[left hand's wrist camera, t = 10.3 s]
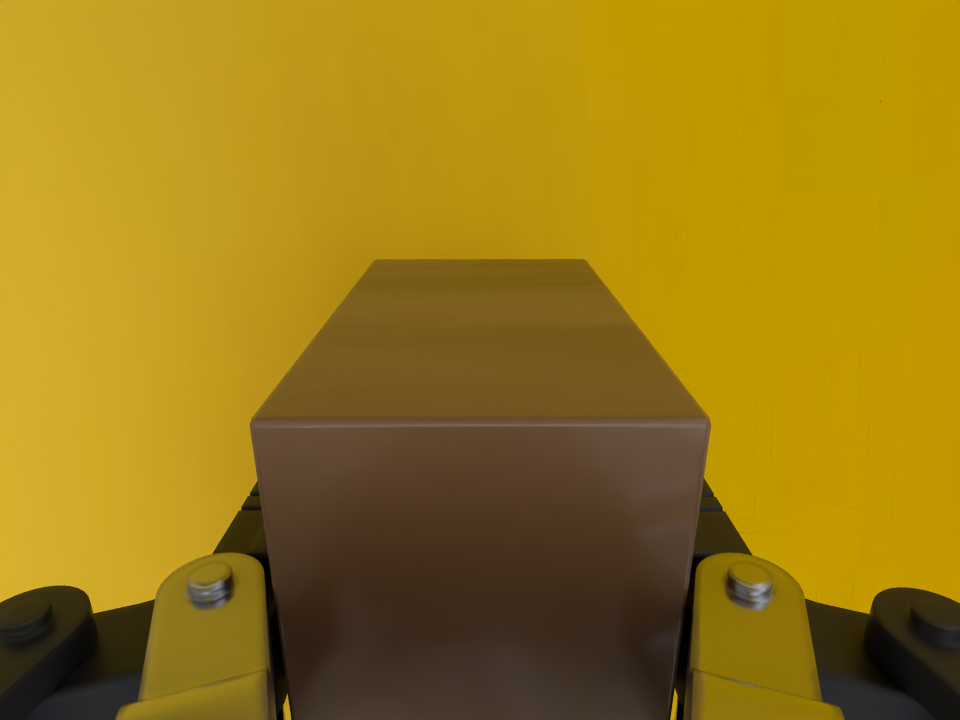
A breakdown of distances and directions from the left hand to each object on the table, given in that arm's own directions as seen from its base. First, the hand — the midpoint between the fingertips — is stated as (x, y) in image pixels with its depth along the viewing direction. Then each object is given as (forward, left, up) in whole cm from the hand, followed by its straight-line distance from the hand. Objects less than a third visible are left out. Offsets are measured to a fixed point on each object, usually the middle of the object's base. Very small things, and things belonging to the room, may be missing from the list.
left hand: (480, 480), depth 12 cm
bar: (+10, 0, -4) cm, 11 cm away
